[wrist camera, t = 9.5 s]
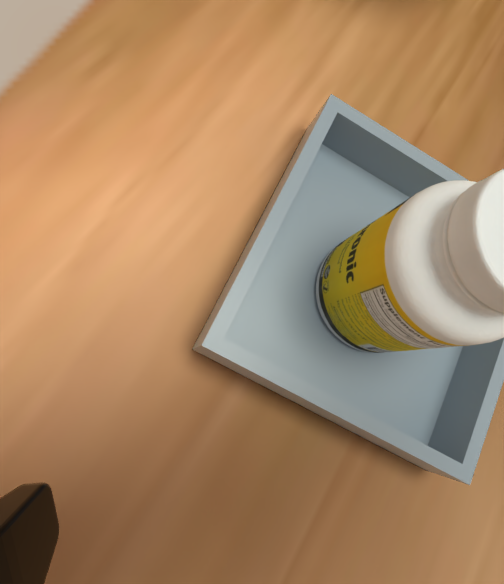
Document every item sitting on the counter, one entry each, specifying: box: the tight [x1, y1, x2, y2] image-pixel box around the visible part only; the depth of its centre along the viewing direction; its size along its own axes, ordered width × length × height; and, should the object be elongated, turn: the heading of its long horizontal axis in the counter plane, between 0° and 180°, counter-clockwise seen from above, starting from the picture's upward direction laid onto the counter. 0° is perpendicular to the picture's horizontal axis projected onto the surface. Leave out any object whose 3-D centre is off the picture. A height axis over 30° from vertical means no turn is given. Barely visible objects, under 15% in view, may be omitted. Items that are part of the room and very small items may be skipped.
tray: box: [192, 94, 504, 485], centre depth 21 cm, size 12×12×3 cm
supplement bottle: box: [316, 169, 504, 353], centre depth 17 cm, size 5×5×10 cm
